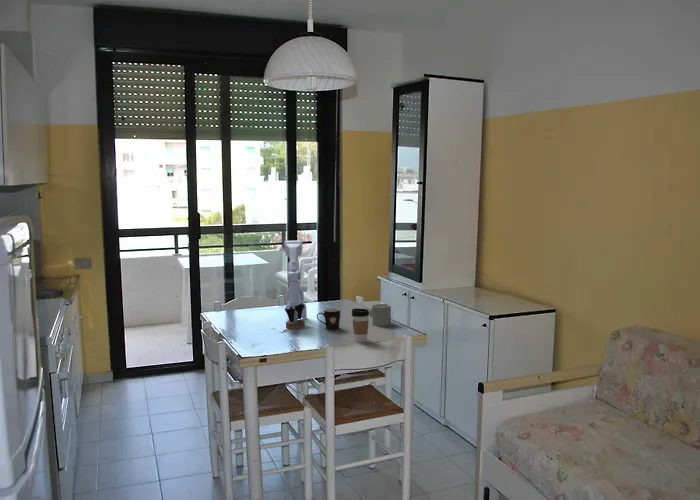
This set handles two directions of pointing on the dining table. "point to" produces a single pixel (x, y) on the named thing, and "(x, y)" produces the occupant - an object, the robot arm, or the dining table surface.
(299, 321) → the faceted ring
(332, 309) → the coffee mug
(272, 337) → the dining table surface
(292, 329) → the mat
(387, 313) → the coffee mug
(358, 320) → the coffee cup
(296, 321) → the dowel
